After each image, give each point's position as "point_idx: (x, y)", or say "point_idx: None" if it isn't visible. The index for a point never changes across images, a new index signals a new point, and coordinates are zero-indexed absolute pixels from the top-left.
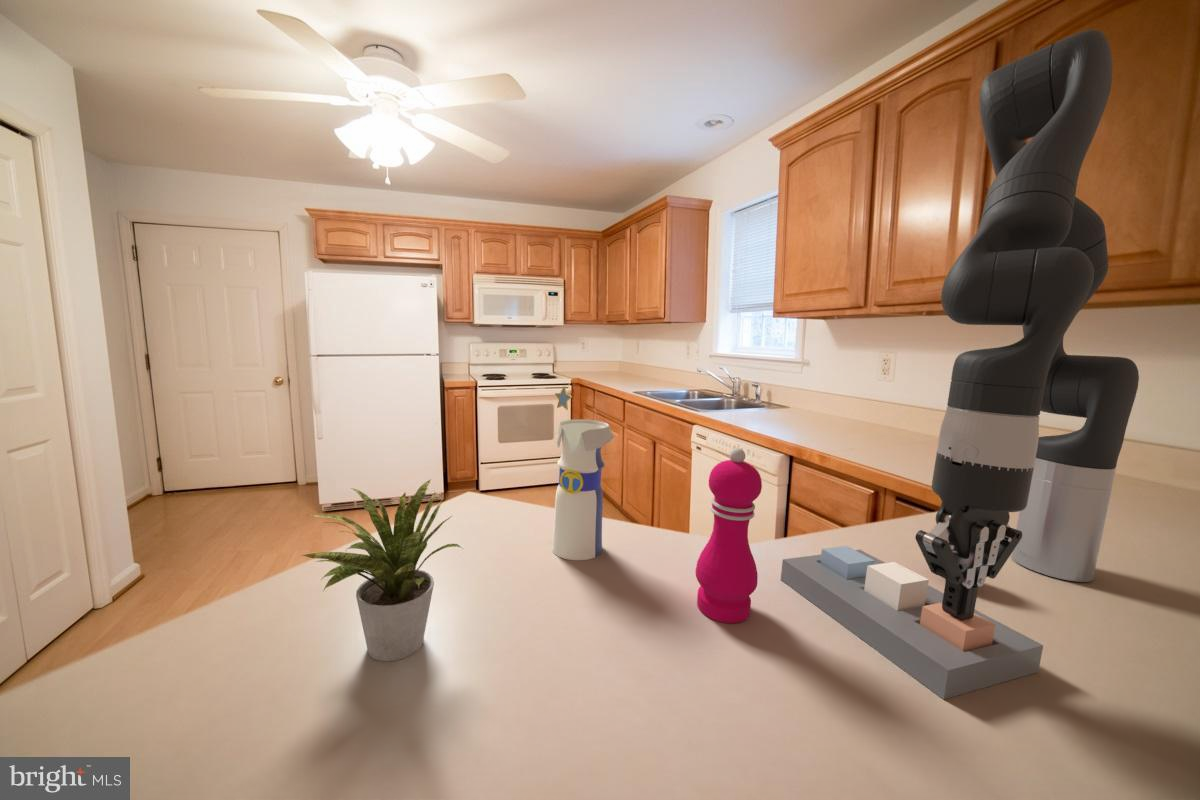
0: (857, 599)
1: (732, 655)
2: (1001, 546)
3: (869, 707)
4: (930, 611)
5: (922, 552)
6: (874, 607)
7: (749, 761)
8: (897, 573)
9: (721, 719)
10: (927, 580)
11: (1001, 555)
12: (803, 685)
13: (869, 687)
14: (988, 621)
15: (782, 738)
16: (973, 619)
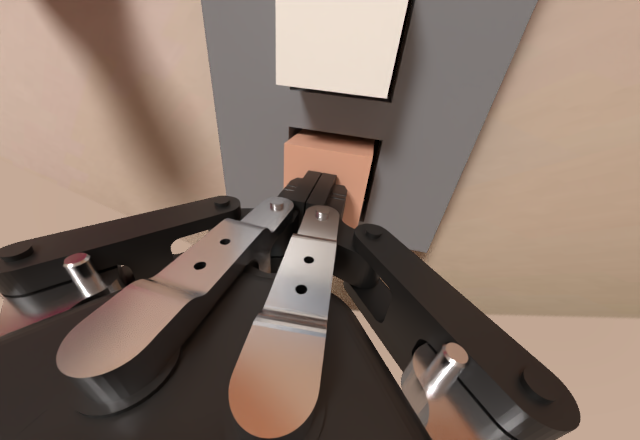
0: (236, 7)
1: (19, 17)
2: (404, 356)
3: (161, 165)
4: (284, 160)
5: (116, 221)
6: (249, 55)
7: (34, 157)
8: (329, 25)
9: (10, 112)
10: (382, 97)
11: (379, 335)
12: (103, 111)
13: (179, 147)
14: (355, 223)
15: (64, 153)
16: None
